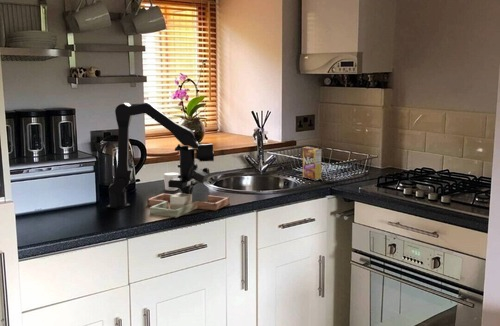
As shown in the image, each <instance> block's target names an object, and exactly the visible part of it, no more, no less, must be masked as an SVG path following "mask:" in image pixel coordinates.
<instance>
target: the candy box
mask: <svg viewBox="0 0 500 326" xmlns="http://www.w3.org/2000/svg"><path fill="white" fill-rule="evenodd" d="M303 177H305V178H310V179H319V178H321V179H322V148H316V147H312V146H304V147H302V178H303Z"/></svg>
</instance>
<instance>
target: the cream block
mask: <svg viewBox="0 0 500 326" xmlns="http://www.w3.org/2000/svg"><path fill="white" fill-rule="evenodd" d="M190 203H193V193H192V194H185V193H182V192H177V193H174V194H173V195H172V196H170V201H169V205H170V208H169V209H173V210H176V209H179V208H181V207H183V206H186V205H188V204H190Z"/></svg>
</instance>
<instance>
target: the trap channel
mask: <svg viewBox="0 0 500 326" xmlns="http://www.w3.org/2000/svg"><path fill="white" fill-rule="evenodd" d="M172 195H174V194H171V193H164V192H163V193H160V194H158V195H156V196H153V197H150V198H148V199H146V202H147V206H149V215H155V216H162V217H163V216H164V217H169V216H170V217H171V218H179V217H182V216H183V215H186V214H189V212H192V211H194V210H196V209H202V210H209V211H218V210H219V209H222V208H223V207H226V206H228V205H230V197H228V196H227V197H226V196H216V195H211V194H209V195H207V201H201V200H200V201H199V200H196V201H195V200H194V201H192V203H190V204H188V205H186V206H183V207H181V208H179V209H176V210H175V209H170V208H169V202H170V196H172ZM170 217H169V218H170Z"/></svg>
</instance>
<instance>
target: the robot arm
mask: <svg viewBox="0 0 500 326" xmlns="http://www.w3.org/2000/svg"><path fill="white" fill-rule="evenodd" d="M114 112H115V113H114V114H115V118H116V119H115V120H116V123H117V129H118V132H117V136H118V137H117V165H116V170H115V173H114V177H113V181H112V182H111V183H110V185H109V187H108V194H109V204H108V205H106V208H110V209H116V210H117V209H118V210H121V209H124V208H127V207H129V206H131V204H130V203H128V195H127V189H126V188H127V187H128V186H129V184H130V183H131V182H132V180H133V178H134V177H133V170H134V168H133V167H130V163H129V146H130V145H129V144H130V126H131V125H130V124H131V121H132V116H137V115H142V114H143V115H144V114H145V115H147V116H148V117H150V118H151V119H153V120H154V121H155V122H156V123H158V124H160V125H161V126H162V127H164V128H165V129H167V130H168V131H169V132H170V133H171V134H172V135H173V136H174V137H175V139H176V140H177V141H178V142H179V143H178V144H177V146H176V147H174V151H175V152H179V164H177V168H179V175H178V178H174V179H171V180H170V181H169V182H168V187H173V188H178V189H179V190H180V193H185V194H192V195H193V191H194V189H195V187H196V186H197V185H199V183H200V184H203V183H206V182H207V181H208V178H209V177H211V173H210V168H208V167H204V168H199V167H198V164H197V163H195V162H196V160H198V162H202V163H203V162H204V163H205V162H214V161H215V153H214V144H213V143H208V144H207V143H203V144H200V143H199V141H197V139H196V138H195V132H194V131H193V130H192V129H190V128H189V127H186V126H184V125H182V124H179V123H177V122H175V121H174V120H173V119H171V118H170V117H168V116H167V115H166V114H165V113H163V112H162V111H161V110H159V109H158V108H156V107H155V106H154V105H152V103H150V102H149V101H146V102H140V103H135V104H134V103H133V104H132V103H131V104H130V103H129V102H122V103H120V104H118V105H117V106H116V107H115V110H114ZM195 151H196V152H195ZM195 154H196V156H195ZM195 157H196V160H195Z"/></svg>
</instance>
